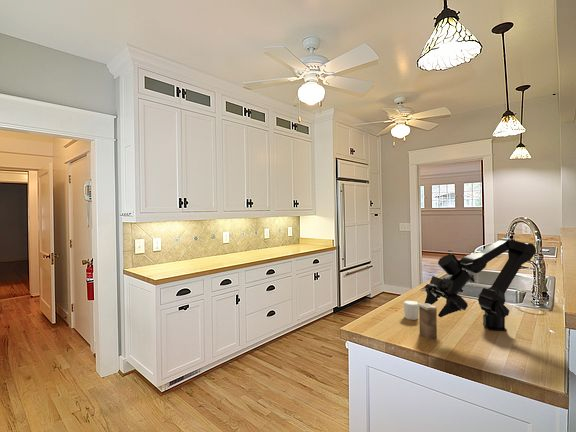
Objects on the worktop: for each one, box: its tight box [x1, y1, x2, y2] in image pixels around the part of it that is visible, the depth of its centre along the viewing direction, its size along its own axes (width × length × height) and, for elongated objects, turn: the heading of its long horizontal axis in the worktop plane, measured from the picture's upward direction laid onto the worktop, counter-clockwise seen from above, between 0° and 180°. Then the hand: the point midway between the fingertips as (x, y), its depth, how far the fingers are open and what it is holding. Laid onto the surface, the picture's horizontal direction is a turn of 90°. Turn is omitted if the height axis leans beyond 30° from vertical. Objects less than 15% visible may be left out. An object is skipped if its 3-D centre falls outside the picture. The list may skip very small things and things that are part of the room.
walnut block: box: [418, 302, 438, 340], centre depth 120 cm, size 4×5×12 cm
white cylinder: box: [402, 299, 420, 321], centre depth 139 cm, size 7×7×7 cm
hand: (431, 312), depth 120 cm, fingers open, 9 cm apart
